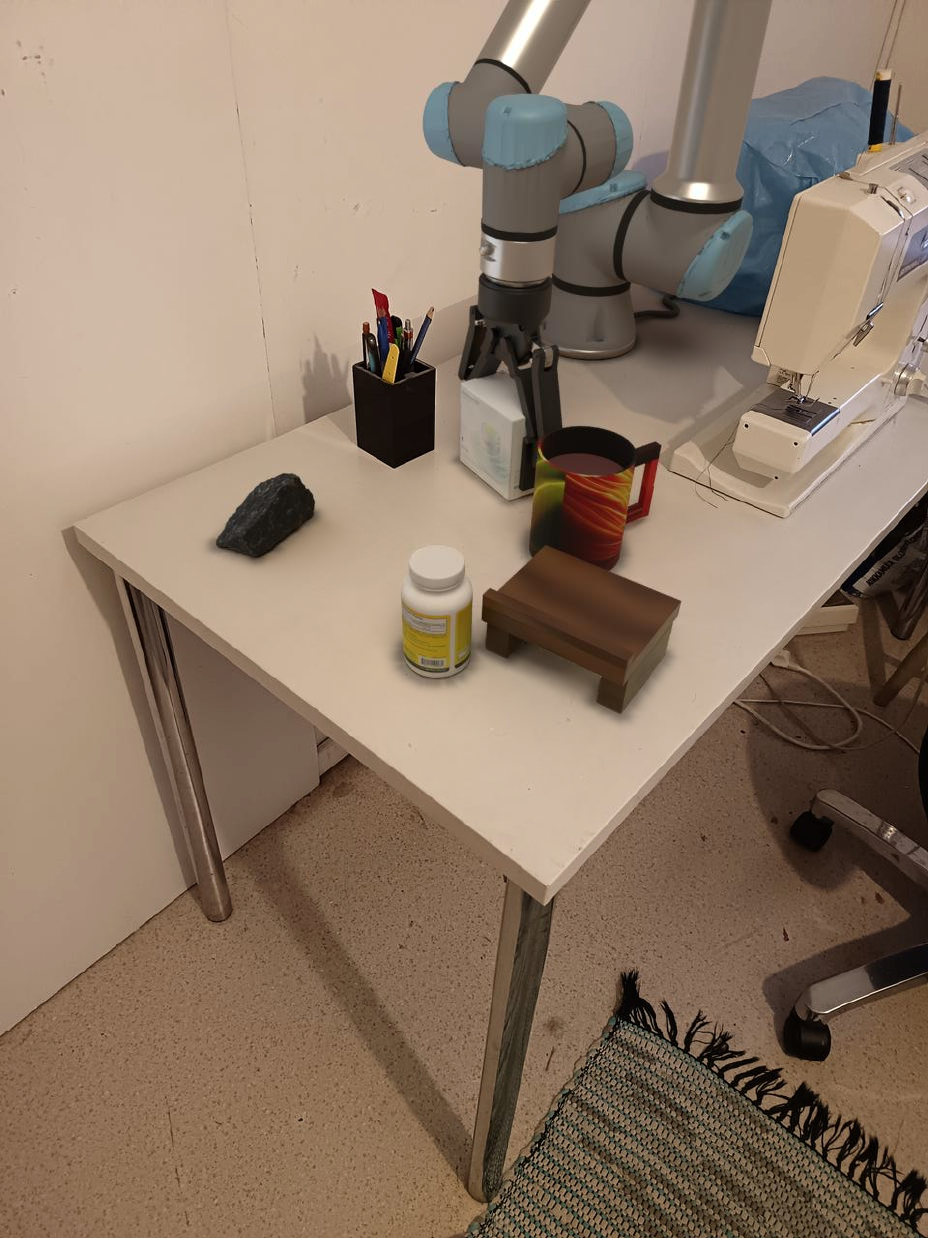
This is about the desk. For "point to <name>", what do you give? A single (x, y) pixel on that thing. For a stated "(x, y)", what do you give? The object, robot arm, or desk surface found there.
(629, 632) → the shelf
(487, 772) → the desk surface
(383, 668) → the desk surface
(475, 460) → the cosmetics box
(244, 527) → the rock
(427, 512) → the desk surface
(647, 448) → the mug
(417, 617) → the pill bottle
